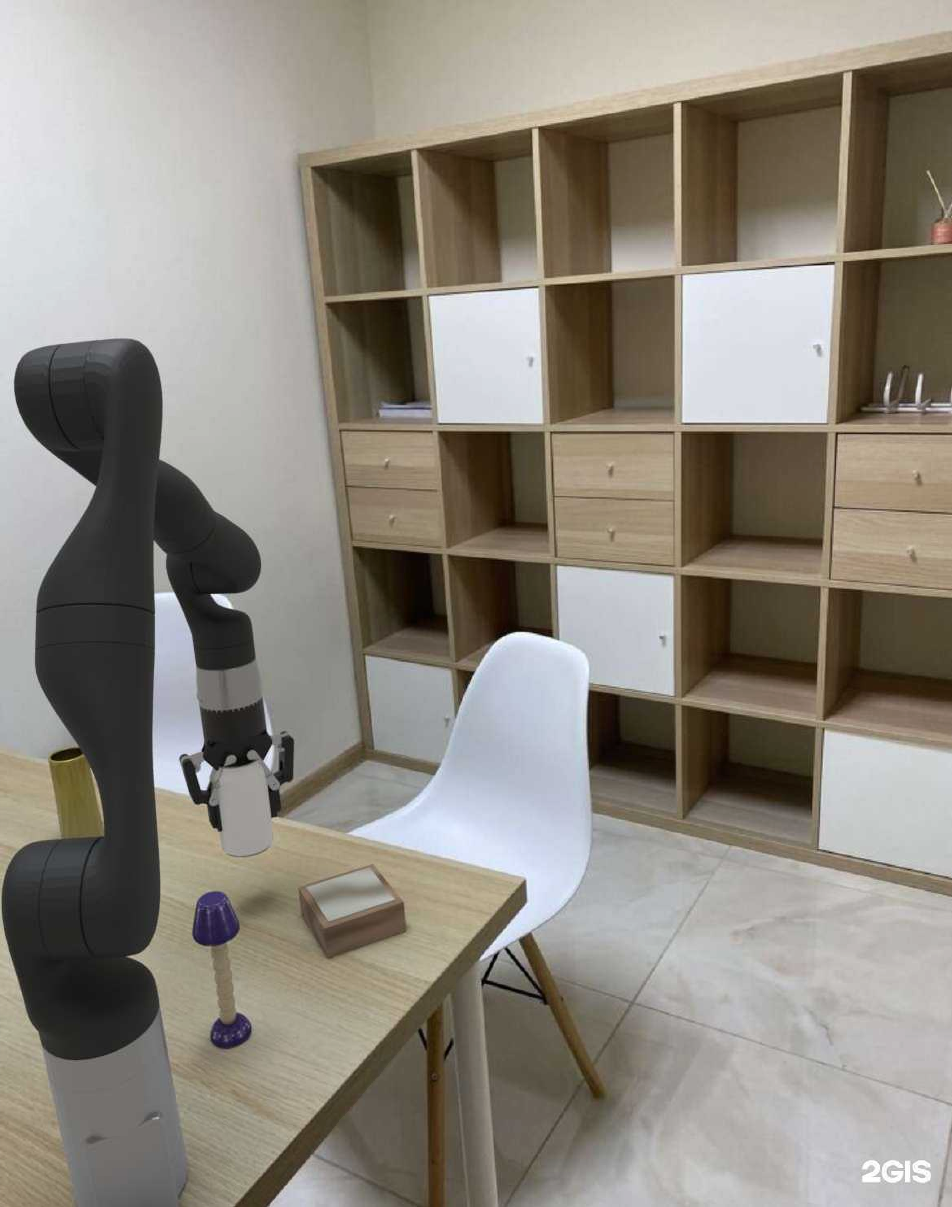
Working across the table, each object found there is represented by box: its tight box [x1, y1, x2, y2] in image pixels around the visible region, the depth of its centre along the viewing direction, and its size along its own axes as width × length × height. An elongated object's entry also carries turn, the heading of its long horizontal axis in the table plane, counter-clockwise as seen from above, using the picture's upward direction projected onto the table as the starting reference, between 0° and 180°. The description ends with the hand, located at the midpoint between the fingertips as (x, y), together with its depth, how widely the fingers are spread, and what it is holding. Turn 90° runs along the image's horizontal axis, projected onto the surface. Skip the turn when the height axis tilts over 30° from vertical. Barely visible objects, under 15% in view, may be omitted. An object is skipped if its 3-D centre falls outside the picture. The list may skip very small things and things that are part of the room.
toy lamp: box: [191, 890, 253, 1049], centre depth 98 cm, size 5×5×17 cm
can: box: [211, 759, 275, 858], centre depth 120 cm, size 6×6×12 cm
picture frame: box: [297, 863, 407, 959], centre depth 118 cm, size 10×10×4 cm
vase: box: [48, 745, 104, 839], centre depth 140 cm, size 6×6×14 cm
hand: (246, 821), depth 121 cm, fingers closed on can, 6 cm apart
